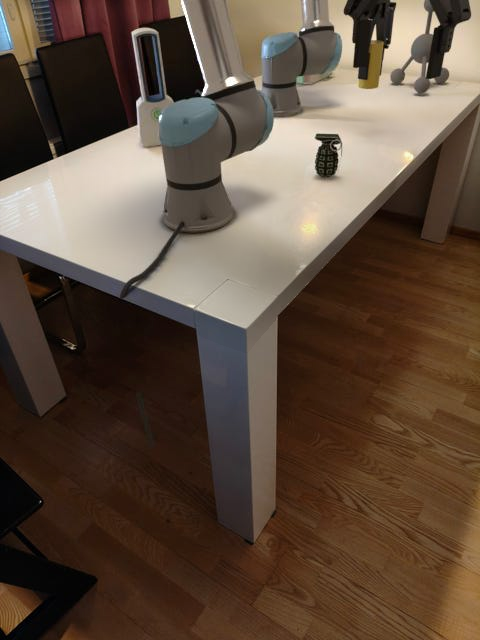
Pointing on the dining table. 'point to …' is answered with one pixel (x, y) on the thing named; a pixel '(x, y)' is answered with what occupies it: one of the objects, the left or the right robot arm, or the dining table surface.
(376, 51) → the canister
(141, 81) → the electronic device
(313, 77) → the decorative block
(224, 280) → the dining table surface
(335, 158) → the grenade
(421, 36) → the molecular model
